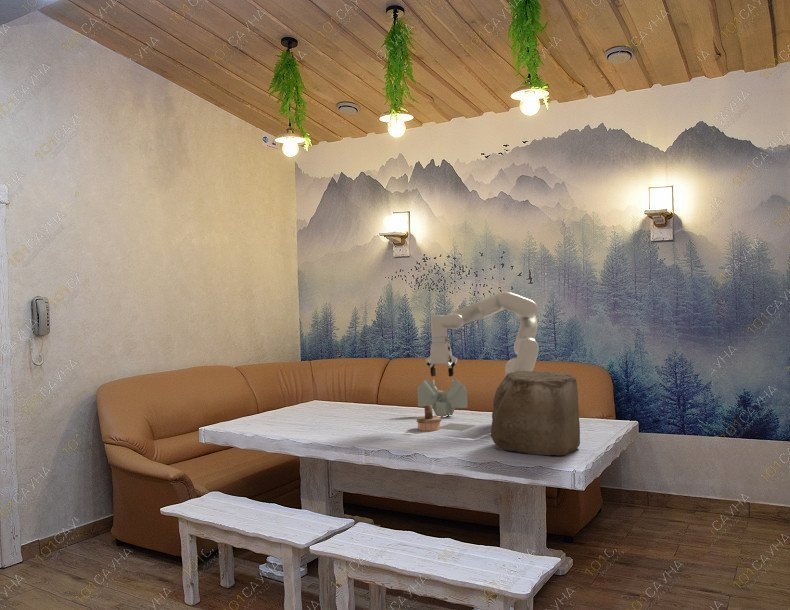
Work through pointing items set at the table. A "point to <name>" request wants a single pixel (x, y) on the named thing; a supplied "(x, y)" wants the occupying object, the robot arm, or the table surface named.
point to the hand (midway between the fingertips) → (442, 376)
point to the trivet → (456, 426)
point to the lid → (428, 416)
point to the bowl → (429, 426)
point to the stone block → (536, 413)
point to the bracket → (439, 403)
